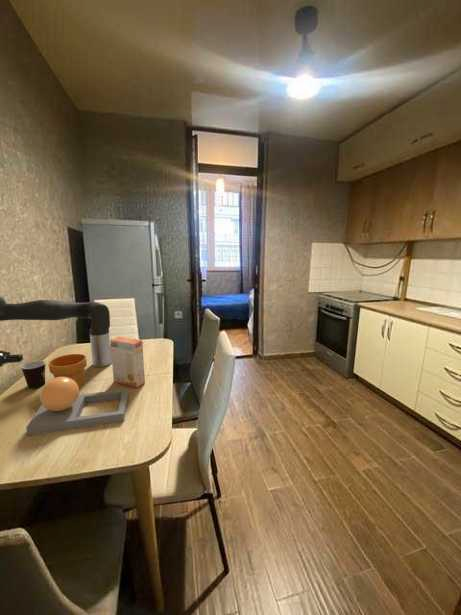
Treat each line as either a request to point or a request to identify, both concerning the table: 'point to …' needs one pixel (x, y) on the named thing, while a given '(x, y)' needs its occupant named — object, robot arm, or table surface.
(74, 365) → the flower pot
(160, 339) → the table surface
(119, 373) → the cracker box
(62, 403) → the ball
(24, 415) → the table surface
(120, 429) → the table surface
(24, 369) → the coffee mug
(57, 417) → the tray
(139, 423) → the table surface
